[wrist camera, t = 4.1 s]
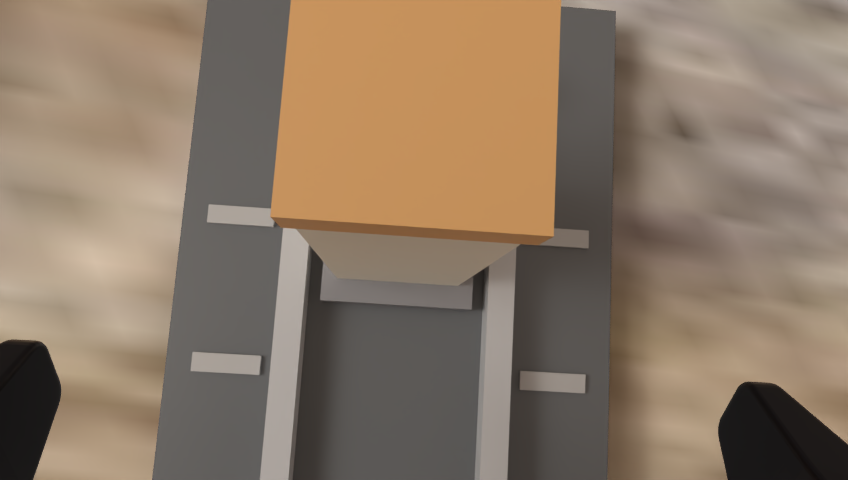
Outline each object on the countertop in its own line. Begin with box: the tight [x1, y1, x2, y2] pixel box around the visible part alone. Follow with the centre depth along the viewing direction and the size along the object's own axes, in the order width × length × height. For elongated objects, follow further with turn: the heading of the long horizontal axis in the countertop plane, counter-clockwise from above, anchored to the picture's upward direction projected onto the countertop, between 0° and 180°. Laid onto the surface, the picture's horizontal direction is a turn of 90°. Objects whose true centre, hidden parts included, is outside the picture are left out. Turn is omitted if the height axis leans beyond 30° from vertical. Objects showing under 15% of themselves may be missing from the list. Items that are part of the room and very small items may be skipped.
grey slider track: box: [152, 0, 616, 480], centre depth 17 cm, size 24×12×3 cm, turn 177°
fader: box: [270, 0, 561, 310], centre depth 13 cm, size 4×4×10 cm
